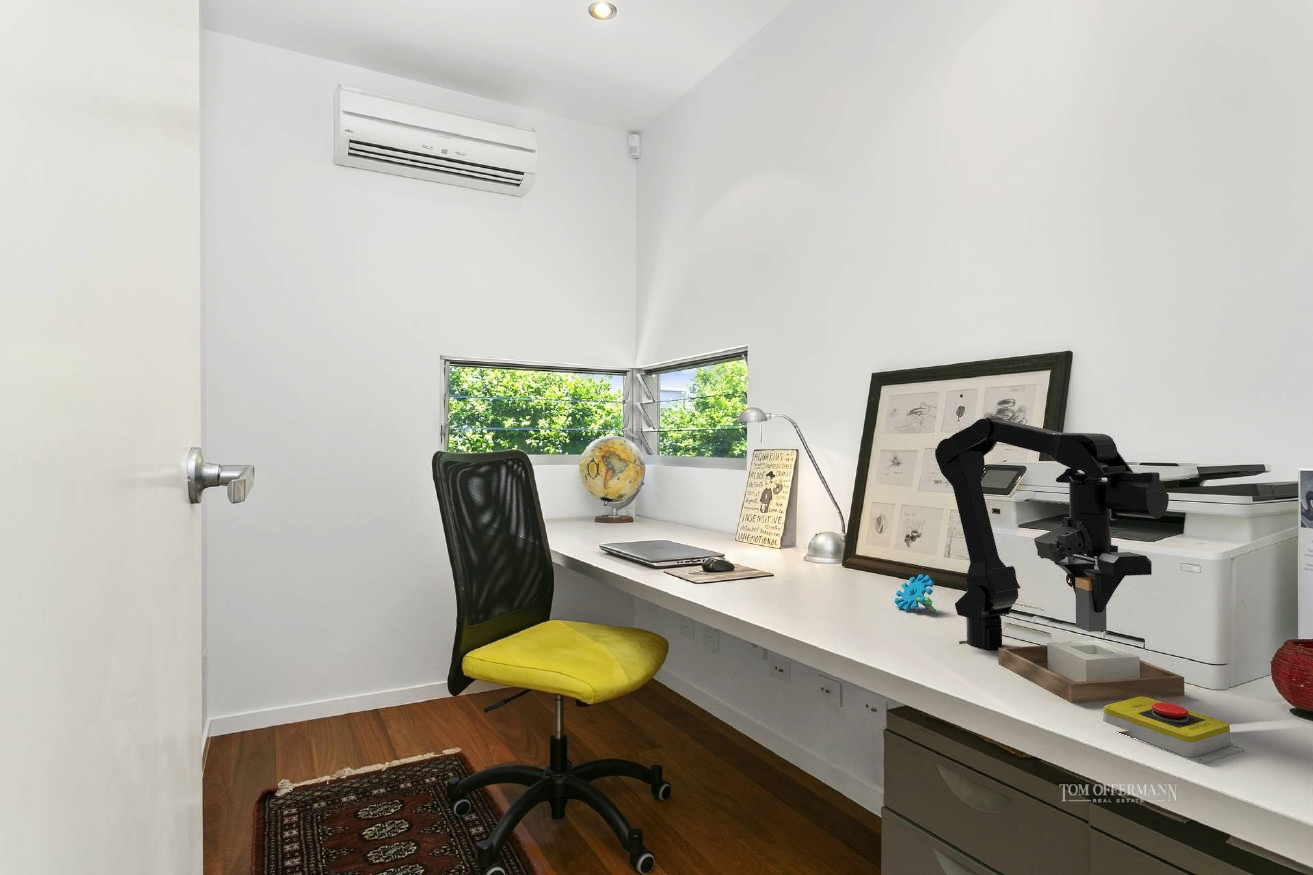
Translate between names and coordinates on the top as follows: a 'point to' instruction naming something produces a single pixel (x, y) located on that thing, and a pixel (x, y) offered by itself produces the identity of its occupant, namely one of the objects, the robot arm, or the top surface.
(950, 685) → the top surface
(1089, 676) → the block
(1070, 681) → the walled box
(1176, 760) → the top surface
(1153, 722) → the emergency button
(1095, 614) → the plug
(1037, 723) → the top surface
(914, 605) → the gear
